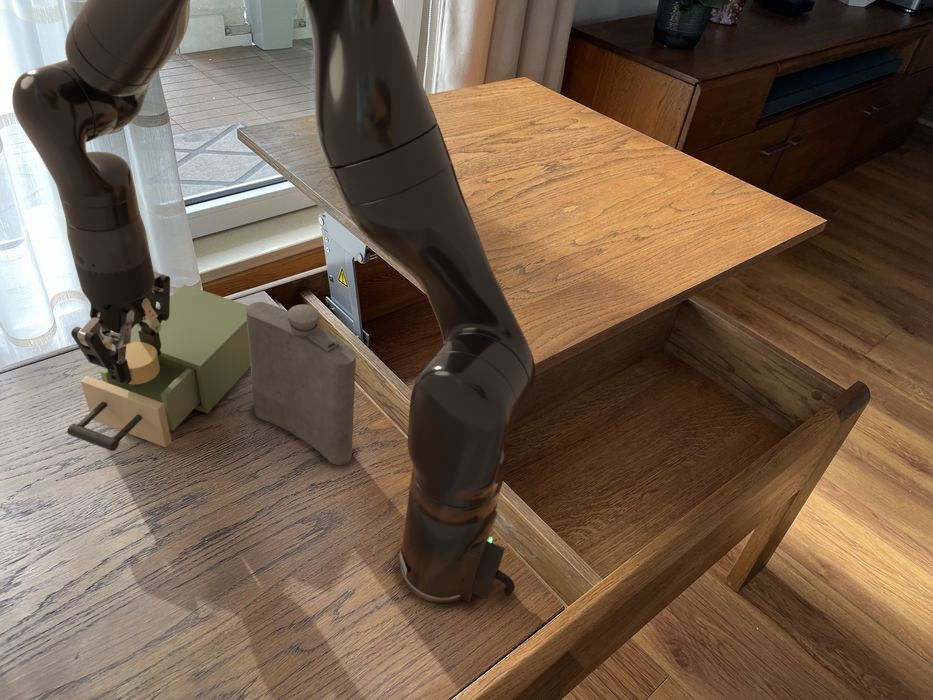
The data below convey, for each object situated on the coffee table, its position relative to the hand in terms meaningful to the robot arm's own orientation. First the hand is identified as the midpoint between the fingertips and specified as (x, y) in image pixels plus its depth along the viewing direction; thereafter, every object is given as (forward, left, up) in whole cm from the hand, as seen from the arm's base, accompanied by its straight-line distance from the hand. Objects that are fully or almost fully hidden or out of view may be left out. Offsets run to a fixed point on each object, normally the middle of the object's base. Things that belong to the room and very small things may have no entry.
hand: (137, 367), depth 88 cm
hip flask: (-19, -7, -9) cm, 22 cm away
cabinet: (0, -11, -9) cm, 14 cm away
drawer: (0, 0, -8) cm, 8 cm away
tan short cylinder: (0, 0, -1) cm, 1 cm away
